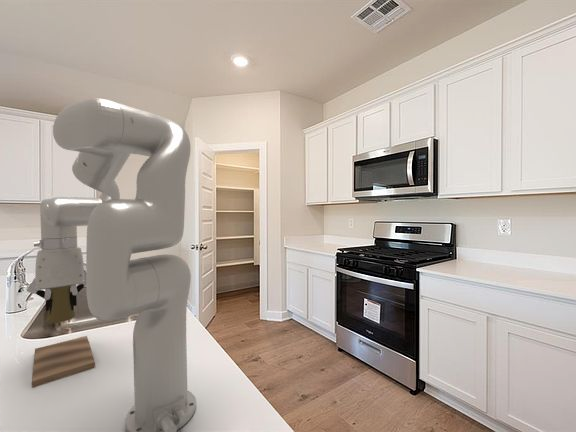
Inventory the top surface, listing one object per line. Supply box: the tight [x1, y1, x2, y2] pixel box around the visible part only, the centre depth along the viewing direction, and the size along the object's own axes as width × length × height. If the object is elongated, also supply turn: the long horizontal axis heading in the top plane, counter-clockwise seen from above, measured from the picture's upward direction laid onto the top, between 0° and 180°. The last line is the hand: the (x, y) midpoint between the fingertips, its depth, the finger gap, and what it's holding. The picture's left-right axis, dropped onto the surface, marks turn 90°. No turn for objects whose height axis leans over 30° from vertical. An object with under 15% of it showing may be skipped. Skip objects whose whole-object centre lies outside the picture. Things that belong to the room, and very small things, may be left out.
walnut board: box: [31, 335, 96, 389], centre depth 75 cm, size 20×12×2 cm, turn 41°
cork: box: [46, 286, 76, 324], centre depth 75 cm, size 6×6×11 cm
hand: (61, 310), depth 75 cm, fingers closed on cork, 3 cm apart
